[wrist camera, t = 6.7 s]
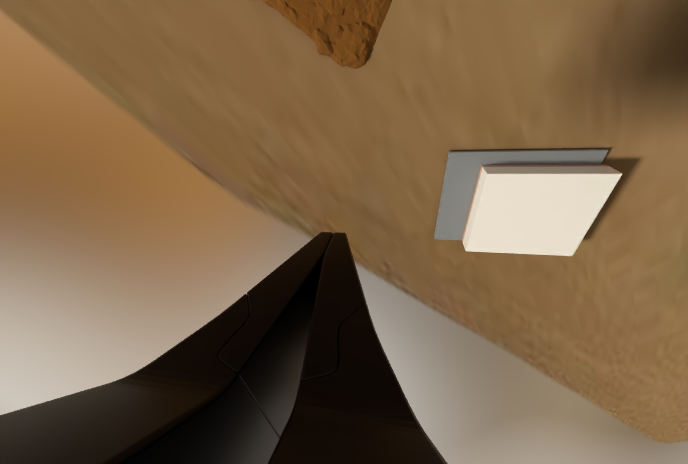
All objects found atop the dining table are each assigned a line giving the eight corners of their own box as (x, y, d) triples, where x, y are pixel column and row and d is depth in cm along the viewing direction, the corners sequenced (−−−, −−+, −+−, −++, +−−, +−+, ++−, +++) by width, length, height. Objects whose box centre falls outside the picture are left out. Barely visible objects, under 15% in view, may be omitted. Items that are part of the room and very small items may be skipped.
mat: (605, 148, 17) (608, 150, 17) (555, 241, 22) (557, 243, 22) (448, 150, 19) (449, 152, 19) (433, 237, 24) (434, 239, 23)
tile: (481, 165, 19) (607, 164, 18) (461, 240, 23) (562, 244, 22) (487, 173, 18) (622, 173, 16) (465, 251, 22) (572, 256, 20)
